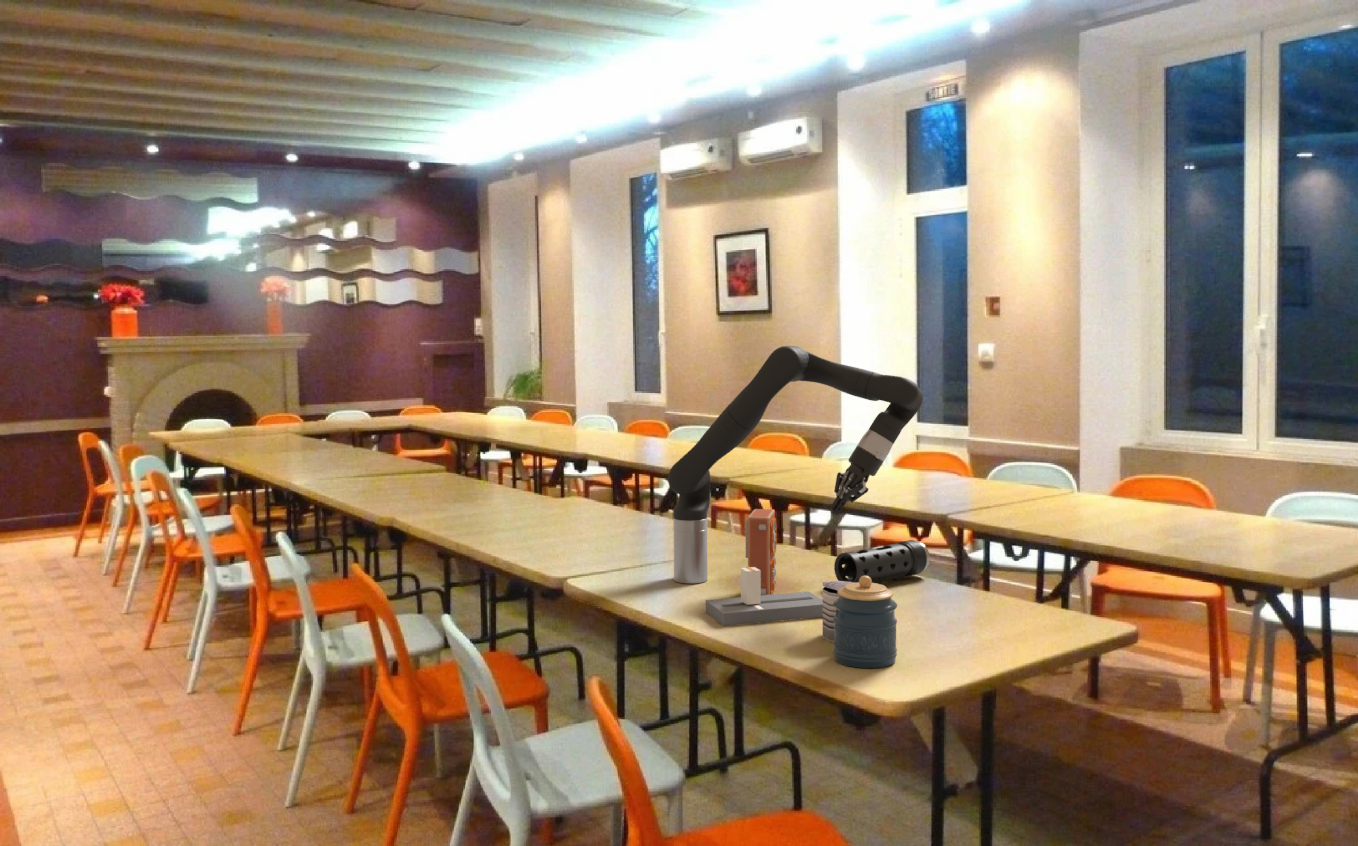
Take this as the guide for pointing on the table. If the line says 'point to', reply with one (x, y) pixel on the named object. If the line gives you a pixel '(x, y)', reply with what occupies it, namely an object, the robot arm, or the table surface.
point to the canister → (865, 625)
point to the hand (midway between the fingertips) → (833, 512)
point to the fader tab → (750, 585)
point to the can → (830, 606)
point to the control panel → (762, 546)
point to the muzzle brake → (883, 562)
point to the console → (765, 608)
